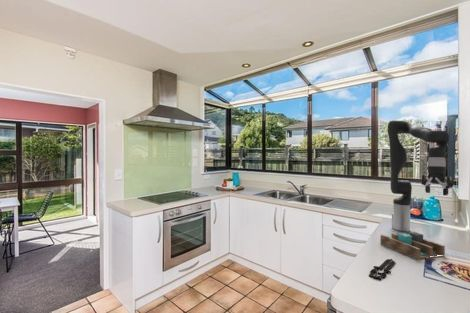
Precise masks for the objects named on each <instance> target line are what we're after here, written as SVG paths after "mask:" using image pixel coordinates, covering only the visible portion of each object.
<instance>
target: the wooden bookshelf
mask: <svg viewBox="0 0 470 313" xmlns="http://www.w3.org/2000/svg"><path fill="white" fill-rule="evenodd" d="M404 233H405V234H408V235H410V233H407V232H404ZM379 241H380V243H379V244H380V245H383V246H384V247H386V248H387V247H388V248H389V249H392V250H394V251H396V252H398V253H401V254H404V255H405V256H408V257H411V258H413V259H415V260H418V261H419V260H425V258H426V257H430V256H437V255H446V253H445V252H446V249H445V248H446V247H445V245H444V244H441V243H437V242H434V241H431V240H428V239H426V238H423V244H422V243H419V242H416V241H414V240H412V245H409V244H406V243H404V242H401V241H398V234H396V233H391V236H387V235H385V234H380V240H379ZM426 259H427V258H426Z"/></svg>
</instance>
